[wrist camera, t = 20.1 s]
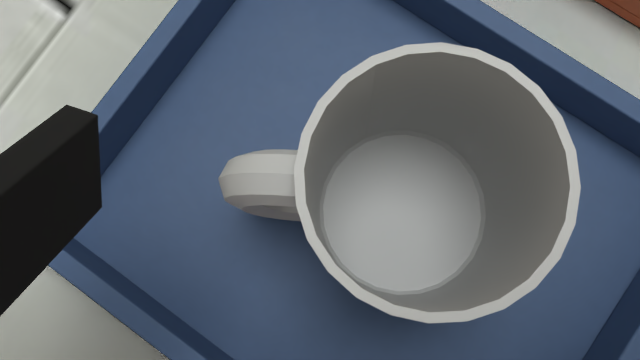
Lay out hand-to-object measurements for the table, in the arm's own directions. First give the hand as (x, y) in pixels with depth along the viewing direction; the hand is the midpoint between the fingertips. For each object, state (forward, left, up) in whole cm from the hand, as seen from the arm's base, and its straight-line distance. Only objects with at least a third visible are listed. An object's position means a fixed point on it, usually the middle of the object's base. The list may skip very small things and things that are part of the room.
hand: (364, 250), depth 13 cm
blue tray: (+1, -2, -11) cm, 11 cm away
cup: (+1, -2, -11) cm, 11 cm away
